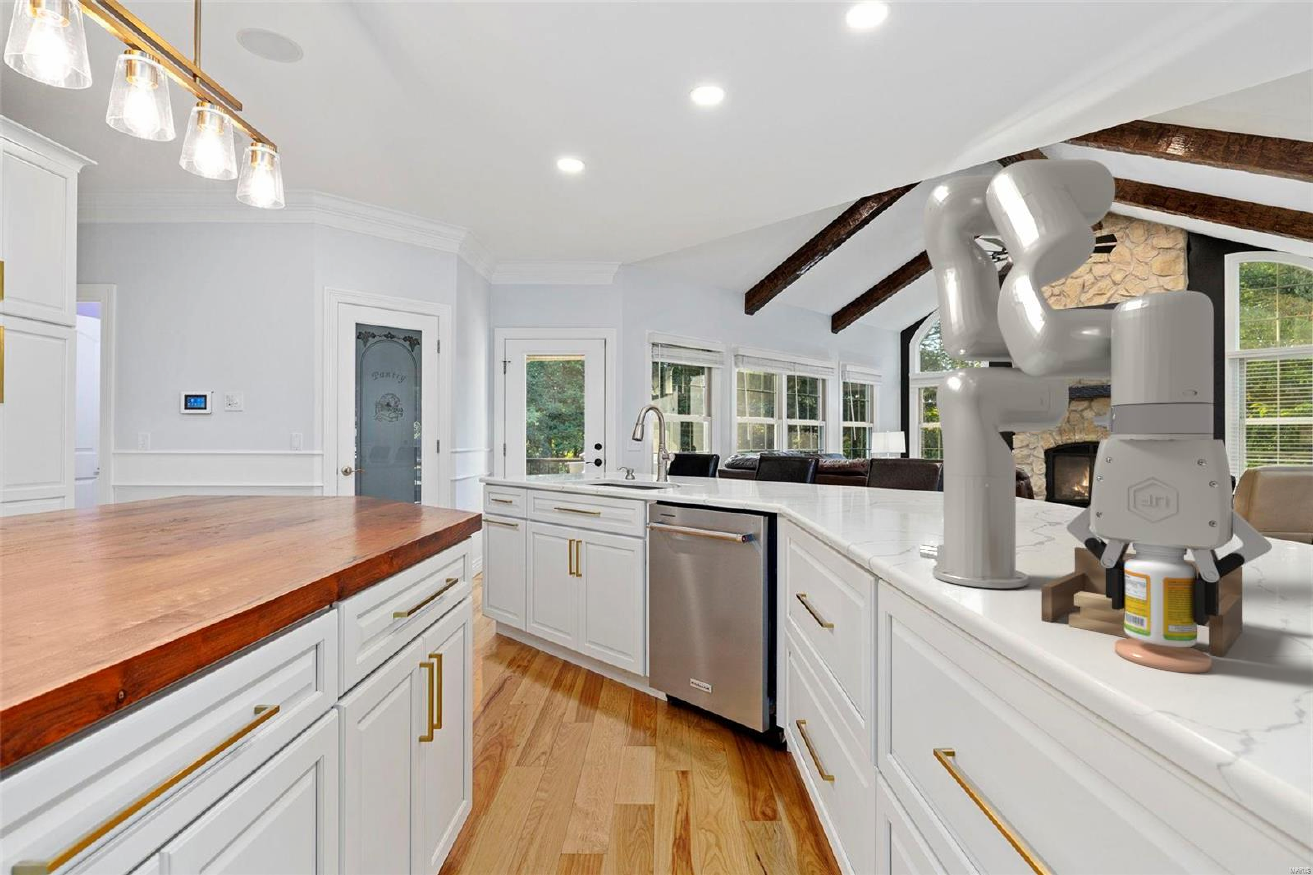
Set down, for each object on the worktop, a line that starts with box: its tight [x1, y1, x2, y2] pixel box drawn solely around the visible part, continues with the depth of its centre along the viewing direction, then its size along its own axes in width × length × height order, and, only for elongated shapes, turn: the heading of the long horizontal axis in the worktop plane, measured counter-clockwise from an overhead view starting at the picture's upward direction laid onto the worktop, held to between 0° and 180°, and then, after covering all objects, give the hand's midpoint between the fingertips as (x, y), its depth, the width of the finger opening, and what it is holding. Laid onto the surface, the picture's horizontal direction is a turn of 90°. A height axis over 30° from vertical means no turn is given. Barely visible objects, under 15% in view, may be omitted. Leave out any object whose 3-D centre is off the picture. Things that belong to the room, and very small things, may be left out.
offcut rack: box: [1041, 546, 1243, 658], centre depth 68 cm, size 15×13×7 cm
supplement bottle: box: [1124, 543, 1198, 648], centre depth 58 cm, size 5×5×10 cm
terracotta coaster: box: [1114, 638, 1212, 674], centre depth 57 cm, size 7×7×1 cm
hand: (1159, 612), depth 58 cm, fingers closed on supplement bottle, 5 cm apart
